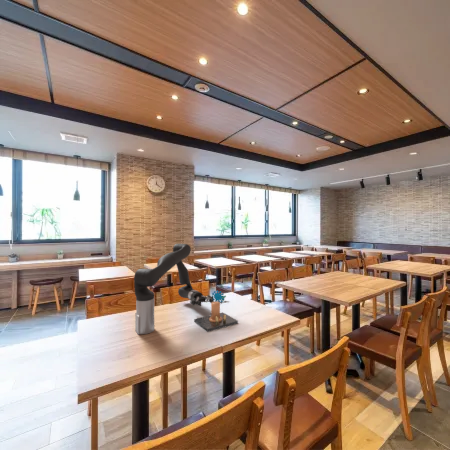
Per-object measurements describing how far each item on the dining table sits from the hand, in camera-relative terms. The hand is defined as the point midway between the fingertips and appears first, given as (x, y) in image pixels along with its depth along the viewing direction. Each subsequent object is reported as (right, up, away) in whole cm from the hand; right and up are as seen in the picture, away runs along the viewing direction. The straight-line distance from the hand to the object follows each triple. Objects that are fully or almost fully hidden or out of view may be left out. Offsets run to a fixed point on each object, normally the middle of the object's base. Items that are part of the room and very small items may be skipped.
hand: (207, 303), depth 149 cm
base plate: (+6, -8, -9) cm, 13 cm away
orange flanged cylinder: (+6, -7, -9) cm, 12 cm away
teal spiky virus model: (+7, -9, +29) cm, 31 cm away
